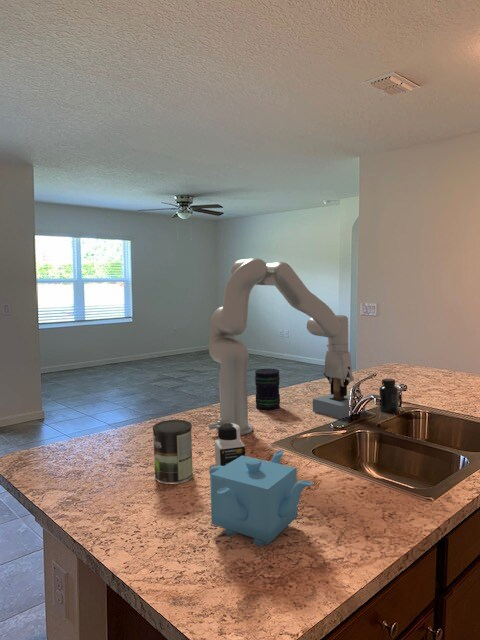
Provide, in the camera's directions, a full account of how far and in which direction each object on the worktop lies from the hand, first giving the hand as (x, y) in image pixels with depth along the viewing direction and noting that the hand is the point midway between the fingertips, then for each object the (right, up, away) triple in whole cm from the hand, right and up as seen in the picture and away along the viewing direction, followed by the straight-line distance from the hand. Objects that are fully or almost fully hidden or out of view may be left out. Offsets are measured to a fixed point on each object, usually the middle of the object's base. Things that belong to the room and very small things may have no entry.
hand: (338, 394), depth 180 cm
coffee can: (-55, -14, -54) cm, 79 cm away
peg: (0, -4, 0) cm, 4 cm away
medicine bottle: (-41, -13, -49) cm, 65 cm away
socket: (0, -7, +1) cm, 7 cm away
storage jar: (-27, -7, +9) cm, 29 cm away
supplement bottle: (+19, -6, 0) cm, 20 cm away
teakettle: (-34, -16, -82) cm, 90 cm away
